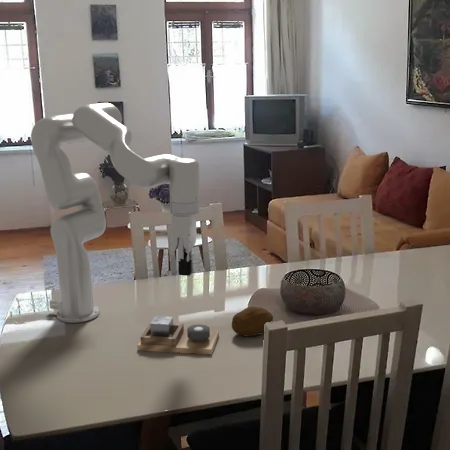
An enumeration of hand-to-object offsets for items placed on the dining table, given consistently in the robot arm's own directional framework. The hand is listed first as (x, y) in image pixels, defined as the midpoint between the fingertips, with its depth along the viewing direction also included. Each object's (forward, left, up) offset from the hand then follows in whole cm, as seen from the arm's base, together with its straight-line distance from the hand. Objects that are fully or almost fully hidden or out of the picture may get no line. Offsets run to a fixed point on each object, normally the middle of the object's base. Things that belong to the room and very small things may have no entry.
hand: (185, 274), depth 162 cm
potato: (+17, +8, -20) cm, 27 cm away
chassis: (-2, -1, -20) cm, 20 cm away
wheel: (+3, -1, -17) cm, 18 cm away
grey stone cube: (-7, -1, -18) cm, 19 cm away
